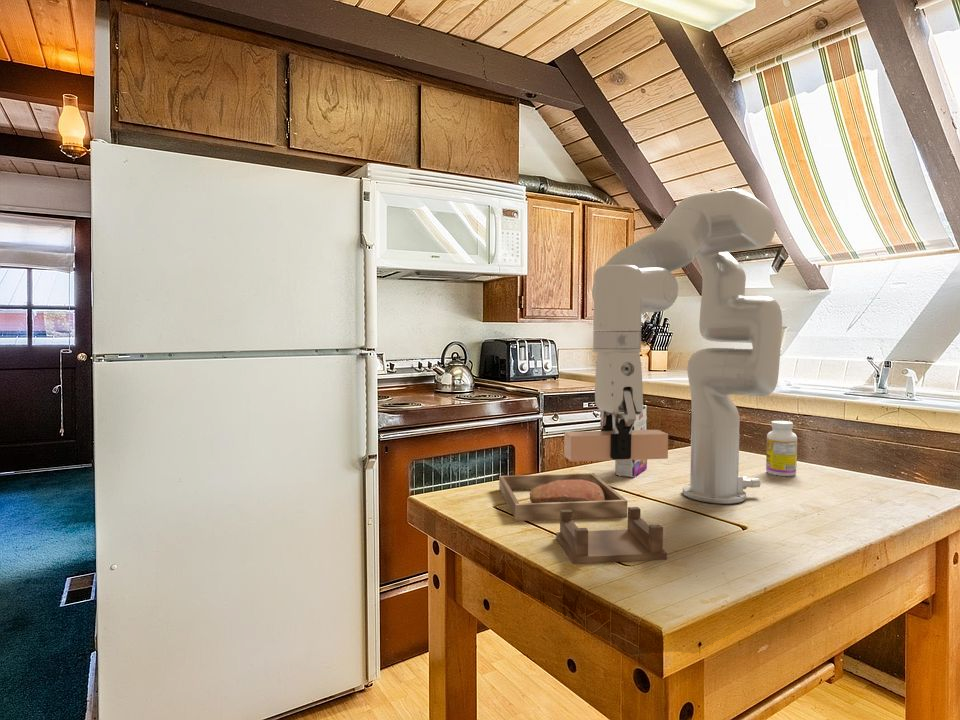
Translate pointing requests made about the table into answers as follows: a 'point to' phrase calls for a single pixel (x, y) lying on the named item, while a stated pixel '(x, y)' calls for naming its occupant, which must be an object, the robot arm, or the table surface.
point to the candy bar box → (633, 466)
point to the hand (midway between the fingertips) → (615, 454)
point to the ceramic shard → (567, 492)
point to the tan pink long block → (599, 445)
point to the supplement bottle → (781, 449)
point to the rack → (611, 541)
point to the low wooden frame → (546, 511)
